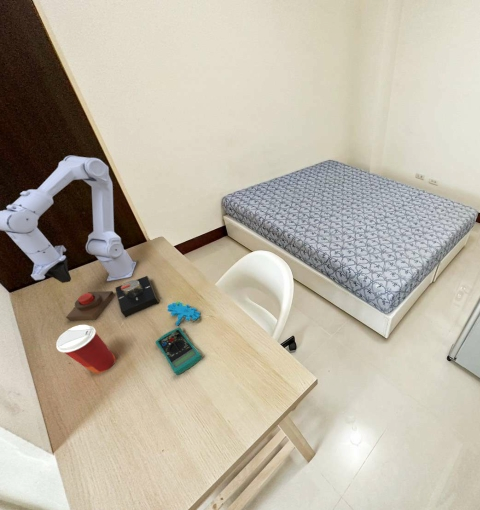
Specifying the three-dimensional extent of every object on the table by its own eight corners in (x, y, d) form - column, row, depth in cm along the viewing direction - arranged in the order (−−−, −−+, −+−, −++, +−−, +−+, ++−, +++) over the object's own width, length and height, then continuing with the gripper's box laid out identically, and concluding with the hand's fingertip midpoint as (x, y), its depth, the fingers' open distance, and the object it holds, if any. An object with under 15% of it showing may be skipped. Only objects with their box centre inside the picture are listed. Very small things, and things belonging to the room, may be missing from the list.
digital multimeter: (181, 329, 84) (178, 324, 82) (203, 359, 77) (200, 353, 75) (157, 345, 80) (152, 339, 78) (177, 377, 72) (173, 372, 70)
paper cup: (122, 348, 79) (96, 319, 70) (116, 371, 73) (87, 343, 64) (91, 356, 76) (60, 328, 67) (82, 381, 71) (46, 353, 62)
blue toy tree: (205, 318, 86) (172, 314, 78) (196, 334, 86) (163, 331, 78) (195, 302, 93) (165, 296, 85) (187, 316, 93) (156, 312, 85)
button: (85, 296, 89) (82, 293, 88) (96, 296, 89) (94, 292, 88) (78, 305, 86) (75, 301, 85) (90, 304, 87) (86, 301, 85)
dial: (141, 284, 95) (136, 277, 92) (145, 292, 92) (140, 285, 89) (124, 291, 92) (119, 284, 90) (127, 300, 89) (122, 292, 87)
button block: (91, 296, 94) (85, 288, 91) (115, 295, 95) (109, 287, 92) (69, 321, 85) (62, 313, 83) (96, 320, 86) (89, 312, 84)
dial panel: (119, 293, 95) (115, 287, 93) (150, 281, 100) (146, 275, 99) (125, 317, 87) (120, 311, 85) (159, 303, 92) (155, 297, 90)
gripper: (41, 260, 73) (71, 293, 81) (65, 232, 83) (90, 264, 92) (9, 265, 71) (43, 298, 79) (38, 236, 81) (65, 268, 90)
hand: (66, 280), depth 85 cm, fingers closed
